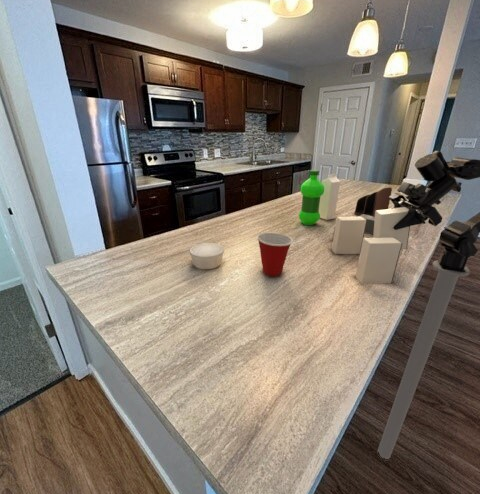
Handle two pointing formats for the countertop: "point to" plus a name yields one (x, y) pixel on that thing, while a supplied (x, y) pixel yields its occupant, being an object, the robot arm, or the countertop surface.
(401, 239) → the cream rectangular block
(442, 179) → the robot arm
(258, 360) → the countertop surface
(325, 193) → the milk
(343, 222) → the white books
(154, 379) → the countertop surface
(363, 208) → the letter holder
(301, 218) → the plastic bottle
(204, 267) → the ramekin
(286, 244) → the plastic cup
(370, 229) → the grey books
